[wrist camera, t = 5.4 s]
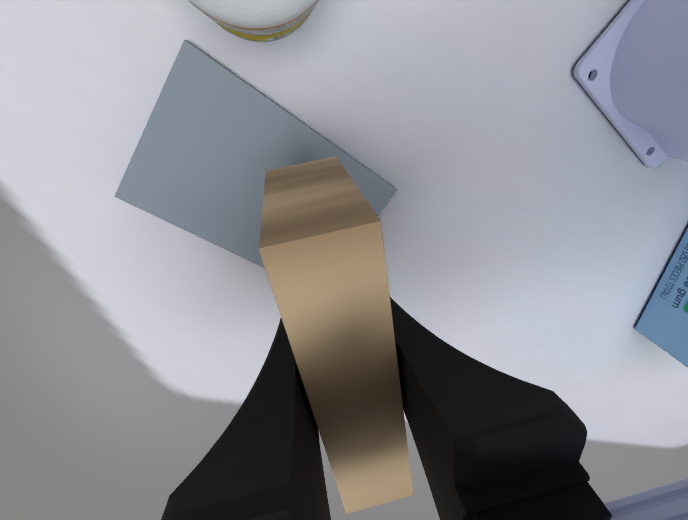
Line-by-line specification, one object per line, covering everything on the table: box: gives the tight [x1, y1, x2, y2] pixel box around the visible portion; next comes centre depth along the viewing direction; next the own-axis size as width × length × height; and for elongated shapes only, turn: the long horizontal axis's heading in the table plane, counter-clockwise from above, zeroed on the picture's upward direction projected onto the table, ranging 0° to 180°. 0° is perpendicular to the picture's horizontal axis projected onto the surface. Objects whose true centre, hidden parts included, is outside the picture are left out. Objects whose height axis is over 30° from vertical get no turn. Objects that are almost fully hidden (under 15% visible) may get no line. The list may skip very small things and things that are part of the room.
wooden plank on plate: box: [259, 156, 413, 514], centre depth 12 cm, size 11×2×6 cm, turn 9°
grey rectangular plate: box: [115, 40, 397, 268], centre depth 18 cm, size 12×8×1 cm, turn 54°
